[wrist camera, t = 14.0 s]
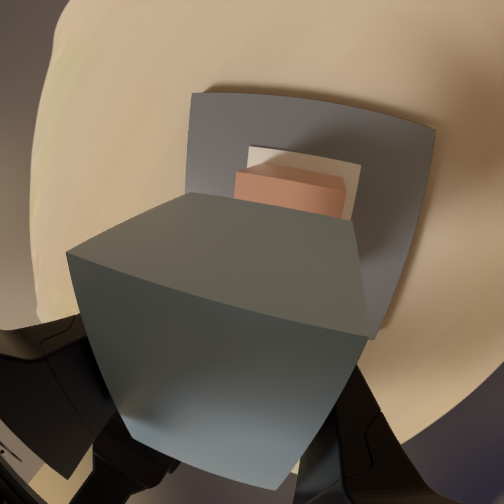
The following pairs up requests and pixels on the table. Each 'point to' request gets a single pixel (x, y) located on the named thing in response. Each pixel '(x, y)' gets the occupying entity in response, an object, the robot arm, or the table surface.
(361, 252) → the baseplate
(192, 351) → the brick
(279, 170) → the brick
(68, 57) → the table surface
